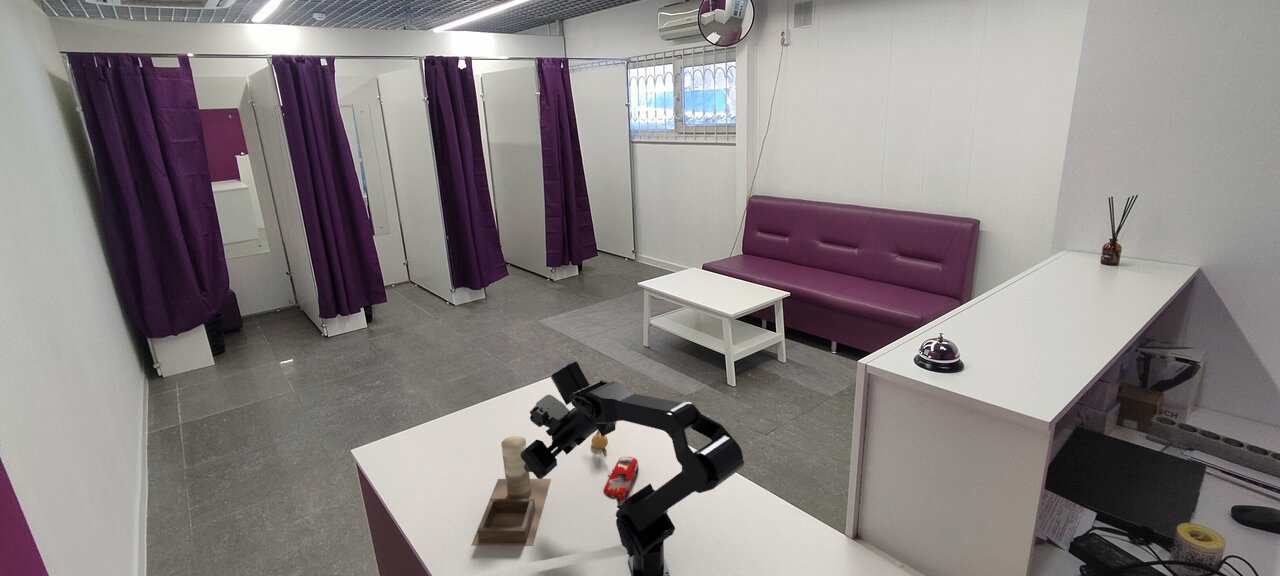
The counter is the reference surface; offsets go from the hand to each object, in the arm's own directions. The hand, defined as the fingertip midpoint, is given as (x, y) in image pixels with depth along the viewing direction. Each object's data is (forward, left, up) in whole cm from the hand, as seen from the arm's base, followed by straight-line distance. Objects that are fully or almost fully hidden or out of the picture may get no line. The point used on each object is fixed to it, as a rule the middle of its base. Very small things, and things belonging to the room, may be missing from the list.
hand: (539, 456), depth 119 cm
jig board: (-1, +6, -13) cm, 14 cm away
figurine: (+19, -15, -13) cm, 28 cm away
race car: (+4, -17, -13) cm, 22 cm away
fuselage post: (+4, +5, -11) cm, 13 cm away
